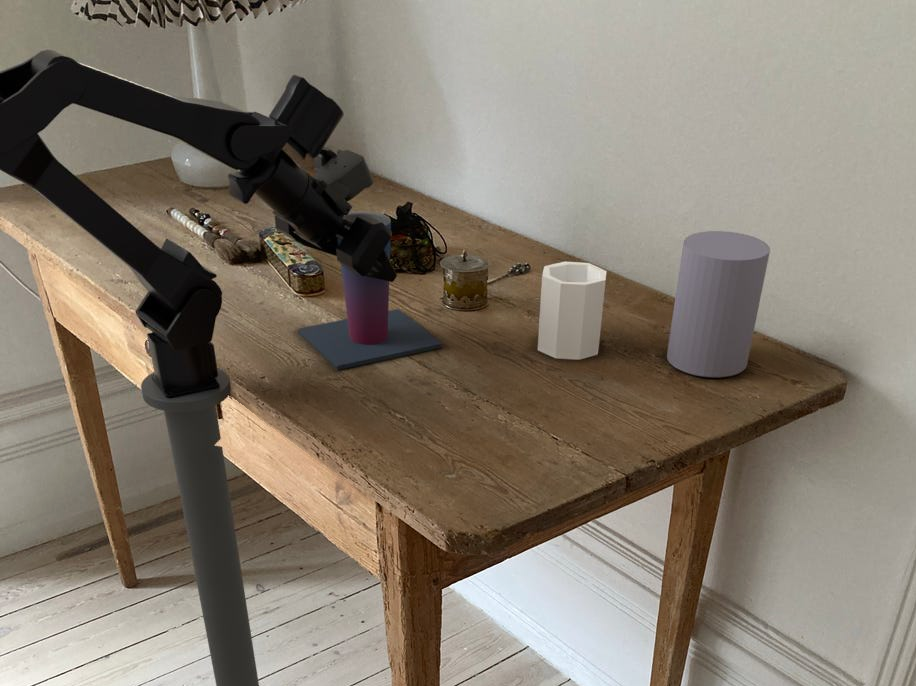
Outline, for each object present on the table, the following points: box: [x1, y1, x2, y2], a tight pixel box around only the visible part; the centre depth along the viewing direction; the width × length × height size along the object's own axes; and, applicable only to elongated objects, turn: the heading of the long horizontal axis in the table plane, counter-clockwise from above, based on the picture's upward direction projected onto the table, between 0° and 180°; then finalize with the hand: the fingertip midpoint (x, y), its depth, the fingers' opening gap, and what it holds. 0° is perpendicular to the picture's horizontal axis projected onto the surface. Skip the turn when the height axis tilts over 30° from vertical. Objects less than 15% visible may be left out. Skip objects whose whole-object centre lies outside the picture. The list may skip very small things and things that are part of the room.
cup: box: [338, 211, 392, 344], centre depth 131 cm, size 7×7×15 cm
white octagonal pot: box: [537, 261, 607, 361], centre depth 135 cm, size 12×9×10 cm
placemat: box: [297, 308, 443, 371], centre depth 136 cm, size 15×13×1 cm
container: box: [666, 230, 771, 379], centre depth 129 cm, size 10×10×15 cm
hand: (373, 267), depth 131 cm, fingers open, 9 cm apart
